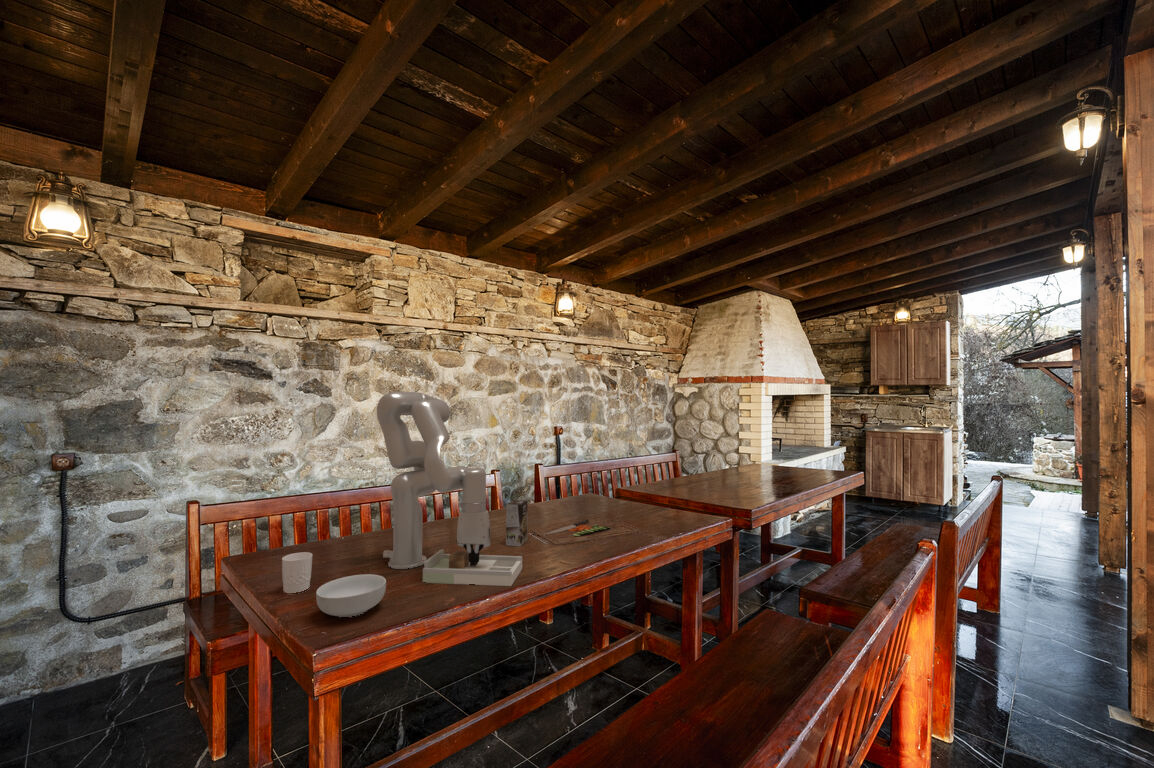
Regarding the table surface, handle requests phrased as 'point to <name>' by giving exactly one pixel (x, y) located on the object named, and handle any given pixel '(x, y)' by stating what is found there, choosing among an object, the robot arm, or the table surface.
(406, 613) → the table surface
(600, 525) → the chopping board
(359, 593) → the cereal bowl
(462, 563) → the walnut block
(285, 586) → the white cup
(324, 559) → the table surface
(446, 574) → the tray
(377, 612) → the table surface
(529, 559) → the table surface
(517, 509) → the coffee box
